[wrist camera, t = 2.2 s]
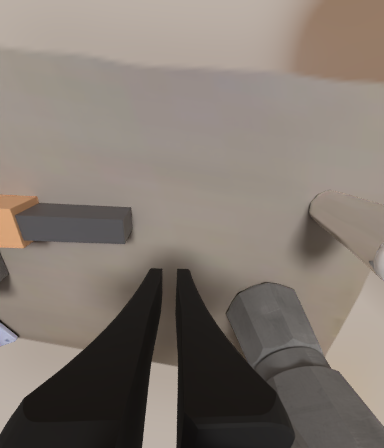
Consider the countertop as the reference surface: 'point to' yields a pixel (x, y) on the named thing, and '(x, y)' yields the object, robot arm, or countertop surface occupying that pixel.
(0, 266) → the grey bridge block
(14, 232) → the plug
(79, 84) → the countertop surface
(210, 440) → the robot arm
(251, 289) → the coffeepot
